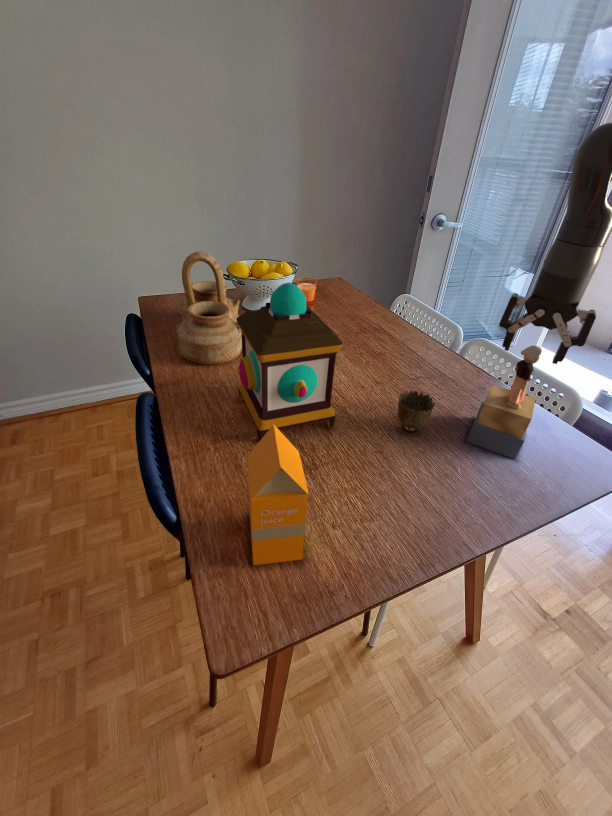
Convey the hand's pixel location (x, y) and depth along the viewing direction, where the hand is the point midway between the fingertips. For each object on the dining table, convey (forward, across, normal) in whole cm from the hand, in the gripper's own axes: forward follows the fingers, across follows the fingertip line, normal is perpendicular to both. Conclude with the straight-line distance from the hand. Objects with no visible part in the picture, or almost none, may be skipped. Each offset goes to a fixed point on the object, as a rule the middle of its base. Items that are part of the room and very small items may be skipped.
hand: (530, 355), depth 76 cm
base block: (+20, 0, 0) cm, 21 cm away
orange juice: (+21, -26, -48) cm, 58 cm away
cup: (+21, -17, -8) cm, 28 cm away
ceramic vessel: (+21, -81, 0) cm, 83 cm away
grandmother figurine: (+11, 0, 0) cm, 11 cm away
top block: (+15, 0, 0) cm, 15 cm away
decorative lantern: (+21, -43, -19) cm, 51 cm away
